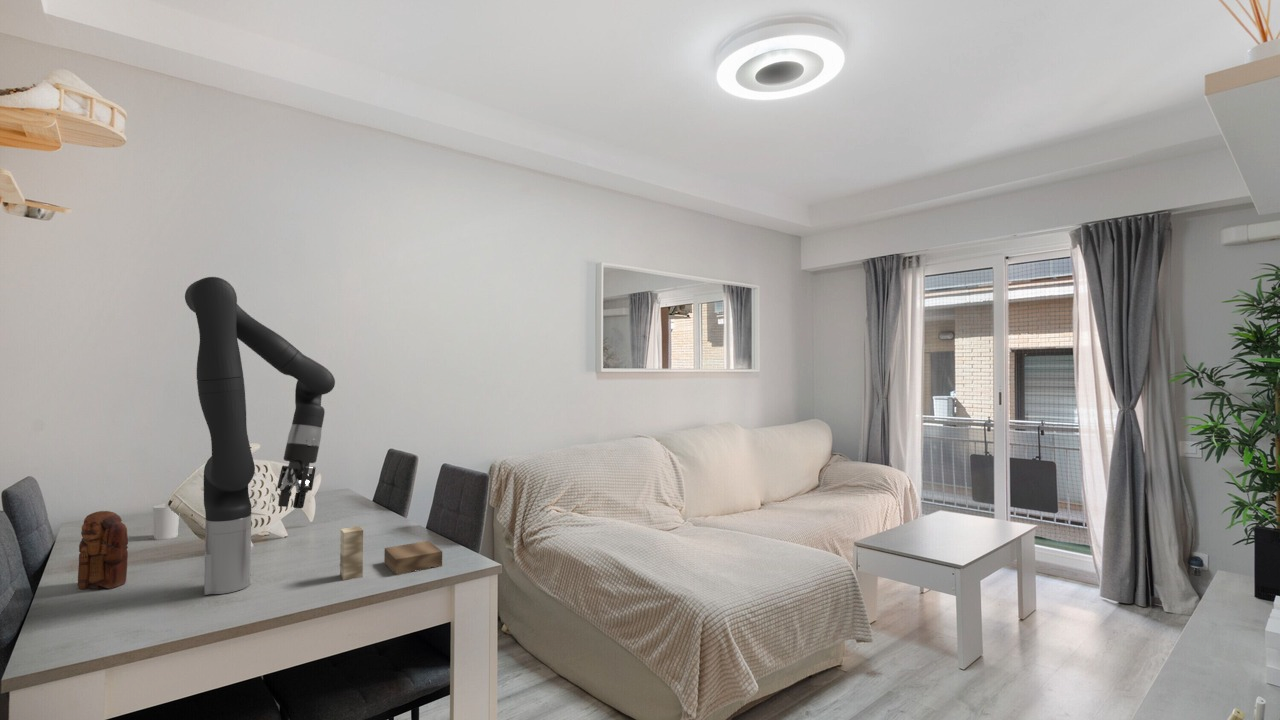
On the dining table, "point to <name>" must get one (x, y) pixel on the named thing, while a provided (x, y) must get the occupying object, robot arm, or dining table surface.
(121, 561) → the wooden figurine
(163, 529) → the drinking glass
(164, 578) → the dining table surface
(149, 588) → the dining table surface
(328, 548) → the dining table surface
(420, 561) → the walnut plinth
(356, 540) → the birch pillar
